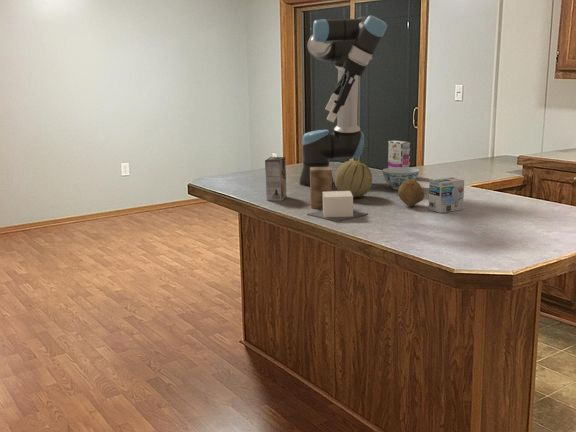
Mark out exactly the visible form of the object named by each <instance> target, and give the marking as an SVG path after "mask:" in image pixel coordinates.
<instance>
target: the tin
mask: <svg viewBox="0 0 576 432" xmlns="http://www.w3.org/2000/svg"><path fill="white" fill-rule="evenodd" d="M332 171H333V170H332V167H331V166H329V167H310V186H309V187H310V188H309V190H310V191H309V192H310V195H309V196H310V201H309V202H310V208H311V209H323V192H326V191H333V185H332V184H333V183H332V176H333V174H332V173H333V172H332Z"/></svg>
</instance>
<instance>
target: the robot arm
mask: <svg viewBox="0 0 576 432" xmlns="http://www.w3.org/2000/svg"><path fill="white" fill-rule="evenodd" d="M387 28H388V24H387V23H386V22H385V21H384V20H382V19H380V18H378V17H376V16H375V15H374V16H373V15H370V14H369V15H367V16H360V17H358V18H340V19H336V18H335V19H333V18H332V19H325V18H323V19H315V20H314V21H313V26H312V35H310V37H309V39H308V40H307V43H306V46H307V51H308V53H309V55H311V56H312V57H313V58H314V59H316V60H317V61H322V62H326V63H331V62H332V63H334V67H335V69H337V74H338V75H337V84H336V85H335V87H334V89H333V93H332V94H331V96H330V98H329V100H328V102H327V103H326V106H325V110H326V111H328V112H329V113H328V115H327V117H326V120H327V121H329V122H331V123H335V120H336V119H337V124H336V126H335V127H333V132H330V131H329V129H317V130H312V131H308V132H305V133H304V134H303V136H302V170H301V173H300V177H299V184H300V185H302V186H308V187H310V167H330V160H344V159H345V160H346V159H349V160H352V159H358V158H360V157H361V155H362V153H363V151H364V150H363V149H364V143H365V140H364V139H365V135H364V133H363V131H361V127H360V126H359V125H358V105H359V104H358V100H359V99H358V97H359V77H361V76H363V74H364V73H365V71H366V68H367V66H368V64H369V63H370V61H372V60H373V55H374V53H375V51H376V50H377V48H378V45H380V42H381V40H382V38H383V36H384V35H385V34H386V33H385V32H386V31H387ZM332 184H334V176H333V175H332Z"/></svg>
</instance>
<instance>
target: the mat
mask: <svg viewBox="0 0 576 432" xmlns="http://www.w3.org/2000/svg"><path fill="white" fill-rule="evenodd" d="M367 215H369V213H367V212H363V211H358V210H354V209H353V216H351V217H324V214H323V209H322V210H317V211H313V212H308V213H306V216H310V217H314V218H319V219H323V220H327V221H331V222H334V223H335V222H336V223H338V222H343V221H346V220H351V219H355V218H360V217H364V216H367Z"/></svg>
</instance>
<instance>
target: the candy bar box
mask: <svg viewBox="0 0 576 432" xmlns="http://www.w3.org/2000/svg"><path fill="white" fill-rule="evenodd" d="M387 157H388V158H387V168H394V167H408V168H411V165H410V164H411V161H410V160H411V142H409V141H402V140H388V153H387Z"/></svg>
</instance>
